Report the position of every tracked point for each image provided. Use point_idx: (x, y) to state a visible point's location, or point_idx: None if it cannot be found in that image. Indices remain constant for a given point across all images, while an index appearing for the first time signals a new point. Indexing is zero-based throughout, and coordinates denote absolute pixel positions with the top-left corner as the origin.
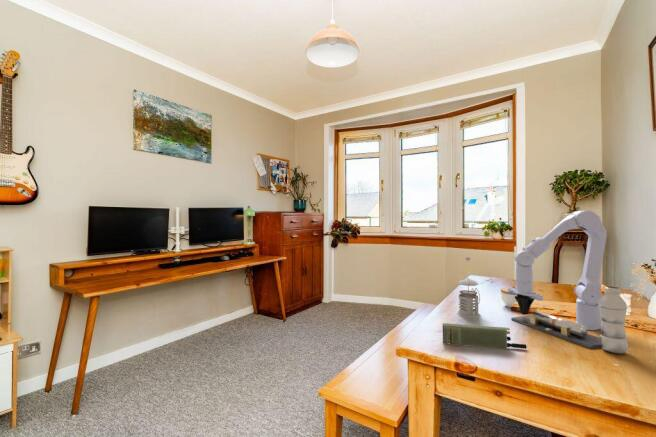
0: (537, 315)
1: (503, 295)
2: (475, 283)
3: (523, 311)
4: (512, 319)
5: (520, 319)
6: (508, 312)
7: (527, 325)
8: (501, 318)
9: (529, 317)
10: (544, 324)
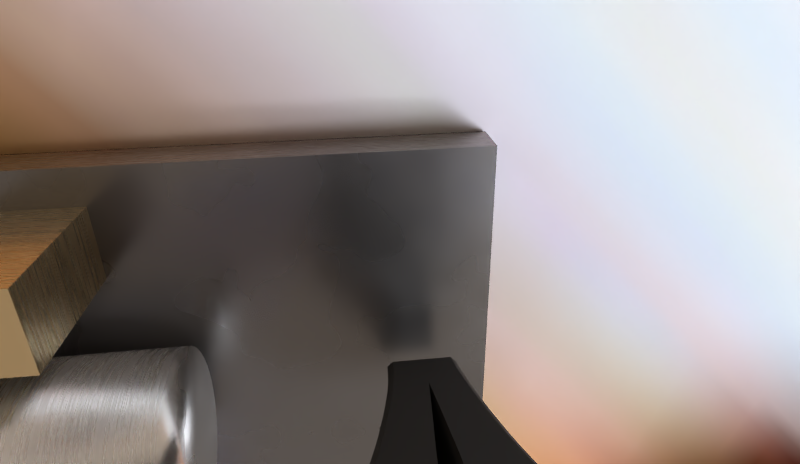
0: (14, 433)
1: None
2: None
3: (395, 396)
4: (466, 136)
5: (350, 218)
6: (771, 366)
7: (124, 151)
8: (637, 25)
9: None
10: None
